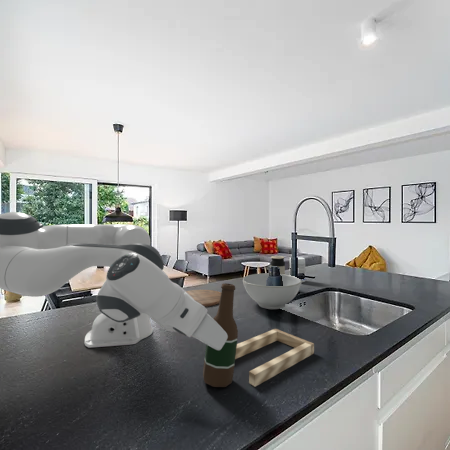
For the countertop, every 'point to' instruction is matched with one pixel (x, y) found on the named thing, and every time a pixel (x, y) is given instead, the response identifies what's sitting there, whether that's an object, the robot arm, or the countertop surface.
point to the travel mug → (278, 263)
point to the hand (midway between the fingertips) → (211, 340)
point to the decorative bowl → (271, 290)
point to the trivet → (205, 297)
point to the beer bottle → (225, 358)
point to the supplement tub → (300, 266)
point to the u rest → (279, 363)
